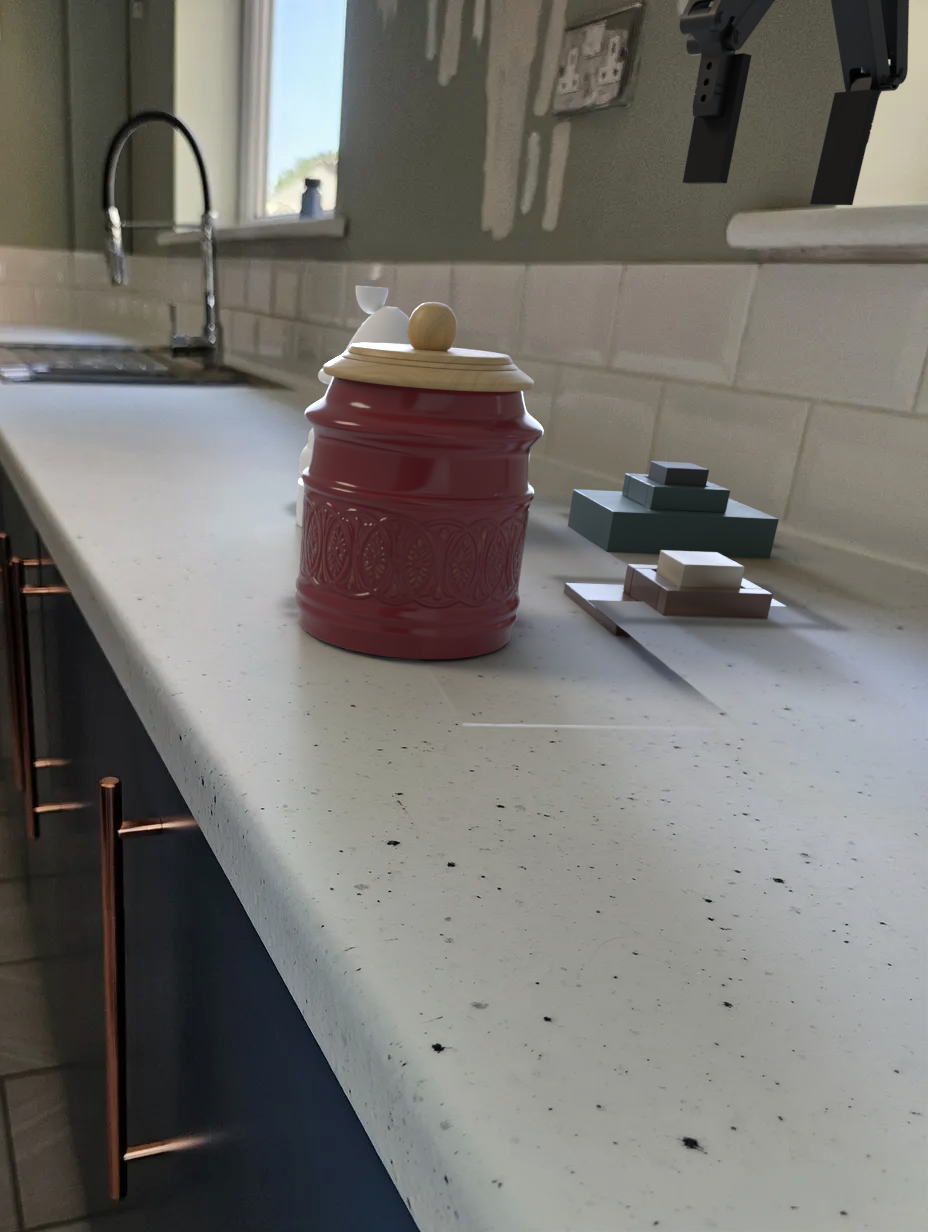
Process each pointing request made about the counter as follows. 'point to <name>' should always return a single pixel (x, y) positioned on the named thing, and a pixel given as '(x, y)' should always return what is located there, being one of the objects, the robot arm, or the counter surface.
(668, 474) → the ebony key
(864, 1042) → the counter surface
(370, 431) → the kitchen canister
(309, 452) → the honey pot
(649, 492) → the tiered step pyramid
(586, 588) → the stepped block pedestal
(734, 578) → the ivory key
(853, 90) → the robot arm
